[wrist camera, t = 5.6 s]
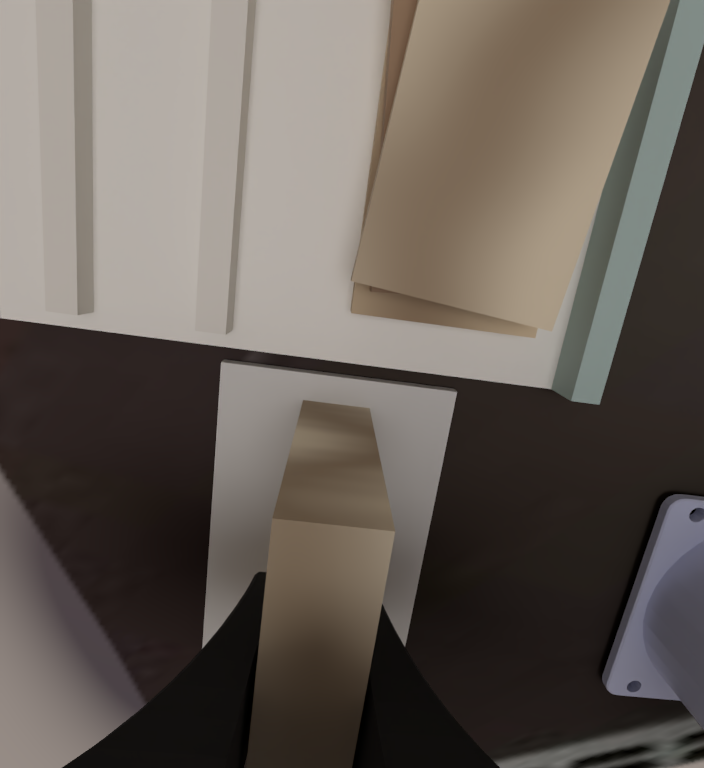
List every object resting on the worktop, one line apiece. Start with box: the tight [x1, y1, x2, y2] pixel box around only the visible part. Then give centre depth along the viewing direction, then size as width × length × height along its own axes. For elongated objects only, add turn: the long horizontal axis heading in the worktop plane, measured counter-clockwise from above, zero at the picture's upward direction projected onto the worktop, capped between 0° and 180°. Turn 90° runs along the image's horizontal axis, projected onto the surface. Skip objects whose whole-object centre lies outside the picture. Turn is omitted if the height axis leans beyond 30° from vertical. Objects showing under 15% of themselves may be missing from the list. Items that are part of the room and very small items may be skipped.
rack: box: [0, 0, 704, 405], centre depth 11 cm, size 17×12×2 cm
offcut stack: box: [351, 0, 670, 338], centre depth 11 cm, size 6×9×2 cm, turn 172°
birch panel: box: [246, 400, 395, 768], centre depth 12 cm, size 2×10×6 cm, turn 172°
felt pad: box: [202, 359, 457, 648], centre depth 15 cm, size 7×12×1 cm, turn 172°
